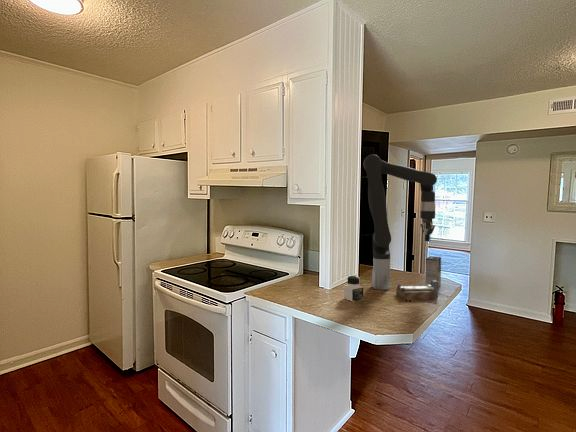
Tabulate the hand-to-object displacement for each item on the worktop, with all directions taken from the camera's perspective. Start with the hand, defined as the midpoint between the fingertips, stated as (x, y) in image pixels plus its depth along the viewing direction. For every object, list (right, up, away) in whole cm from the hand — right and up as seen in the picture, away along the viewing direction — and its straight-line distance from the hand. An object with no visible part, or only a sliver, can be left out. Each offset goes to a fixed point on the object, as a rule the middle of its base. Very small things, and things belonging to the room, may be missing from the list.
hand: (427, 241), depth 179 cm
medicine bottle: (-43, -29, -13) cm, 54 cm away
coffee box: (+7, -27, +9) cm, 29 cm away
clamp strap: (-11, -24, -11) cm, 29 cm away
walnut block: (-11, -28, -11) cm, 32 cm away
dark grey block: (-1, -28, -11) cm, 30 cm away
